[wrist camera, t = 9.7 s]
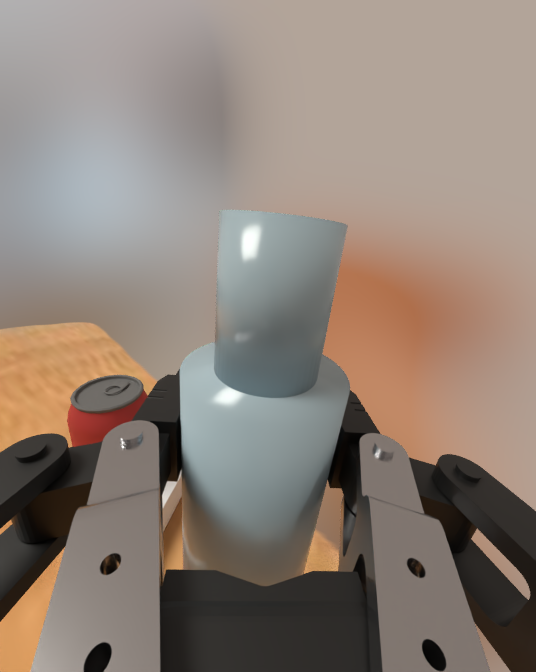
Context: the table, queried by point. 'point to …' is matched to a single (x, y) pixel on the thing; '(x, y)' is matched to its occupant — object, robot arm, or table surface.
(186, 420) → the grey bottle
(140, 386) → the beer can
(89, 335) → the table surface
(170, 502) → the wall
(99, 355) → the table surface
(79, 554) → the robot arm
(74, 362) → the table surface
